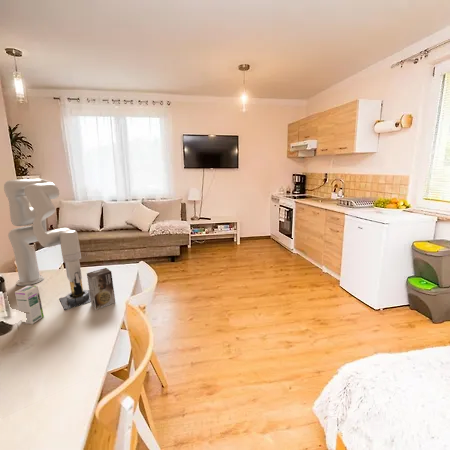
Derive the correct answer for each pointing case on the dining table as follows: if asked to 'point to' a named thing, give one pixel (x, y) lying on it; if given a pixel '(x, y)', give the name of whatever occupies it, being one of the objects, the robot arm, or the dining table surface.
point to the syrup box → (29, 303)
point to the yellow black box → (73, 289)
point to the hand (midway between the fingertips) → (77, 291)
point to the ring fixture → (75, 300)
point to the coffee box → (101, 288)
